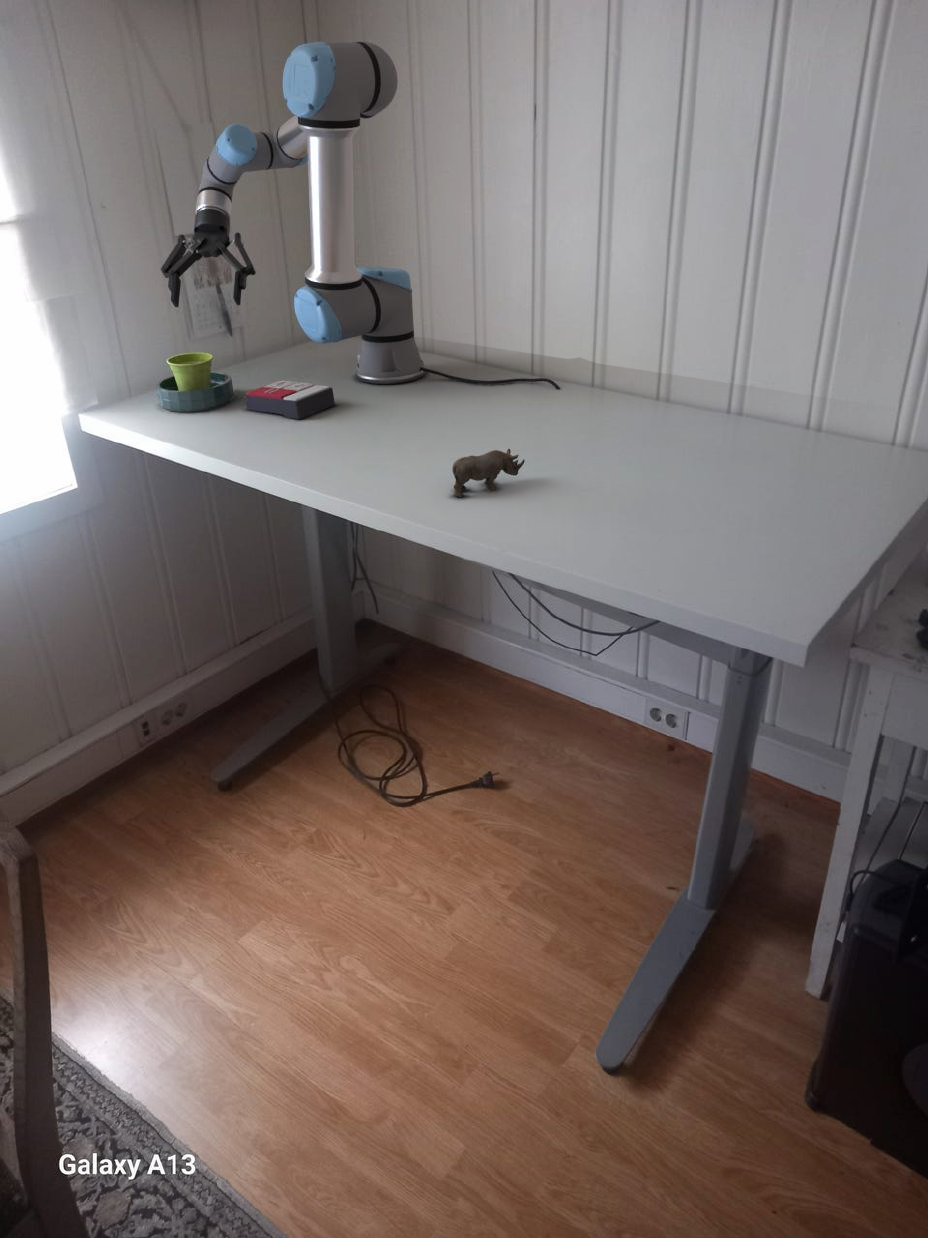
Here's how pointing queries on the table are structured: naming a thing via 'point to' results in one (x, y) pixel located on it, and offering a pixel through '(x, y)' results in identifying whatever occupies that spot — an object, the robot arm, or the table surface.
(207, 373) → the plant pot
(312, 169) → the robot arm
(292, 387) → the calculator
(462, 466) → the rhino figurine
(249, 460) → the table surface
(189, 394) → the bowl
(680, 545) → the table surface
